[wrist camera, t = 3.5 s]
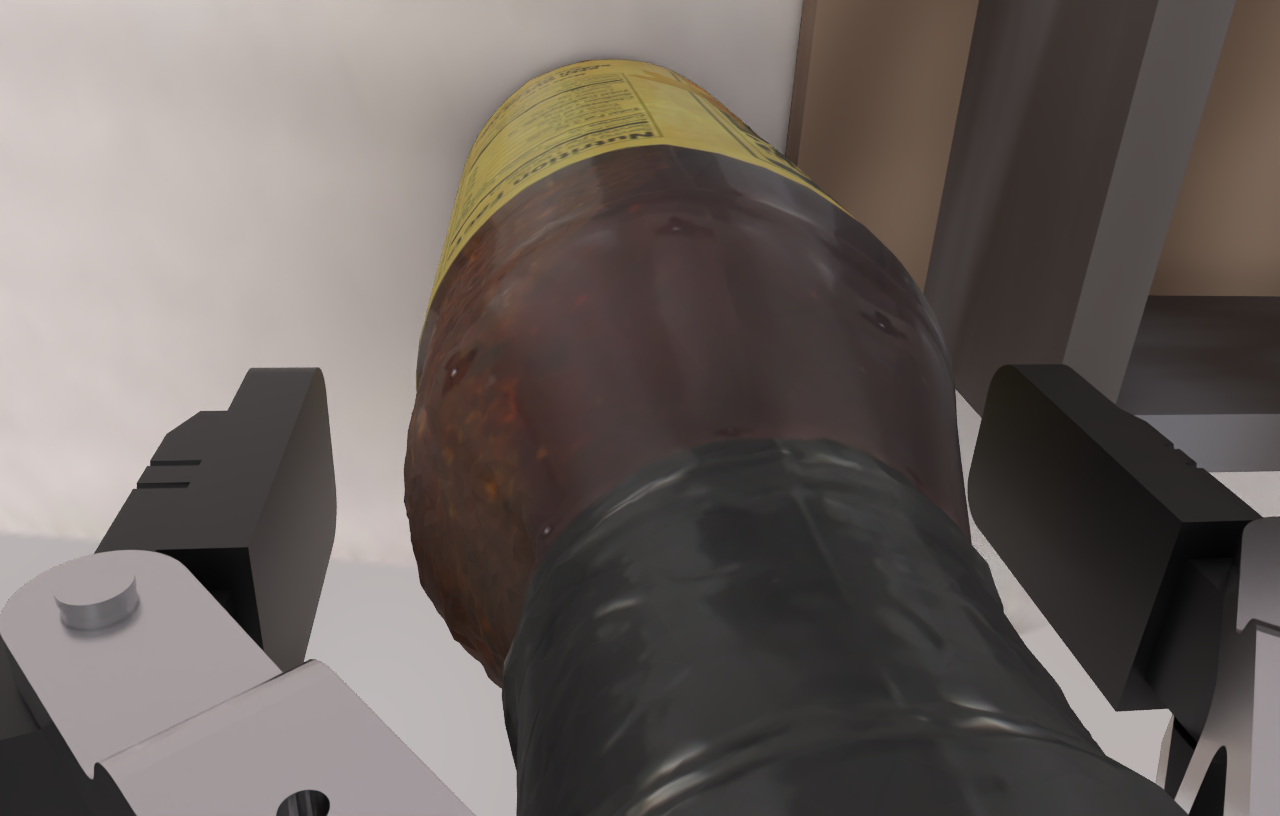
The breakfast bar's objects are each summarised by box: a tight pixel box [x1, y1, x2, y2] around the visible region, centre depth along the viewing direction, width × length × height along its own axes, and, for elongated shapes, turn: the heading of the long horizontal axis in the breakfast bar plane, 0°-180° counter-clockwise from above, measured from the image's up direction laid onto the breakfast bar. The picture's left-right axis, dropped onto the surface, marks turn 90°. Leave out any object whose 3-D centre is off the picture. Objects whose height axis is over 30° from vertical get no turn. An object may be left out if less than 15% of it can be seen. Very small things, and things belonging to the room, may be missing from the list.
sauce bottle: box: [404, 59, 1190, 816], centre depth 13 cm, size 7×6×20 cm
